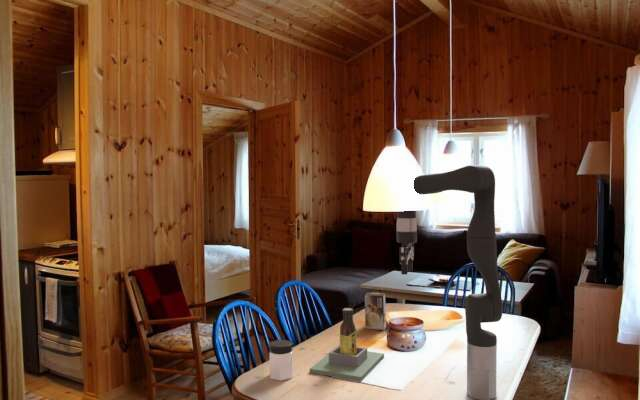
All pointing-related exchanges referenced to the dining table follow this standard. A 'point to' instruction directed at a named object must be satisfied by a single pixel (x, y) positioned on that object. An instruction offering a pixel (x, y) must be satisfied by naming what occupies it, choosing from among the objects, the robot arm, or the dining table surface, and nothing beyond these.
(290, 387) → the dining table surface
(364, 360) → the deck plate
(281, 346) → the jar
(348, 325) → the sauce bottle
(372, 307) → the coffee box
